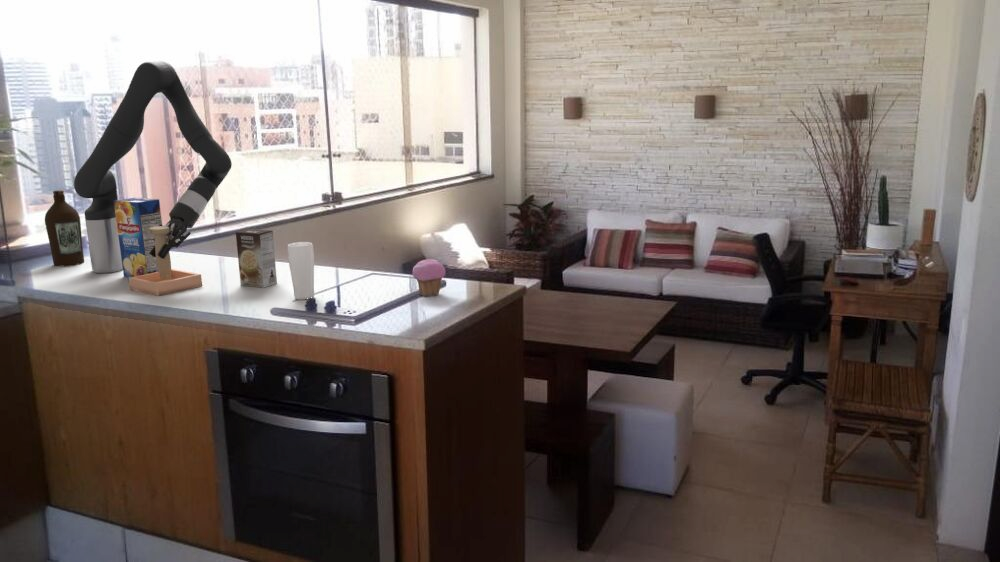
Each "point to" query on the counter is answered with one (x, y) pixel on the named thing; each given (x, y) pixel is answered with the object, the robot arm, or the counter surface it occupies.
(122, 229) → the juice carton
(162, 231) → the handle
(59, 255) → the olive oil
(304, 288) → the drinking glass
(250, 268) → the coffee box
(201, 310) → the counter surface
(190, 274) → the tray
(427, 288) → the cupcake
